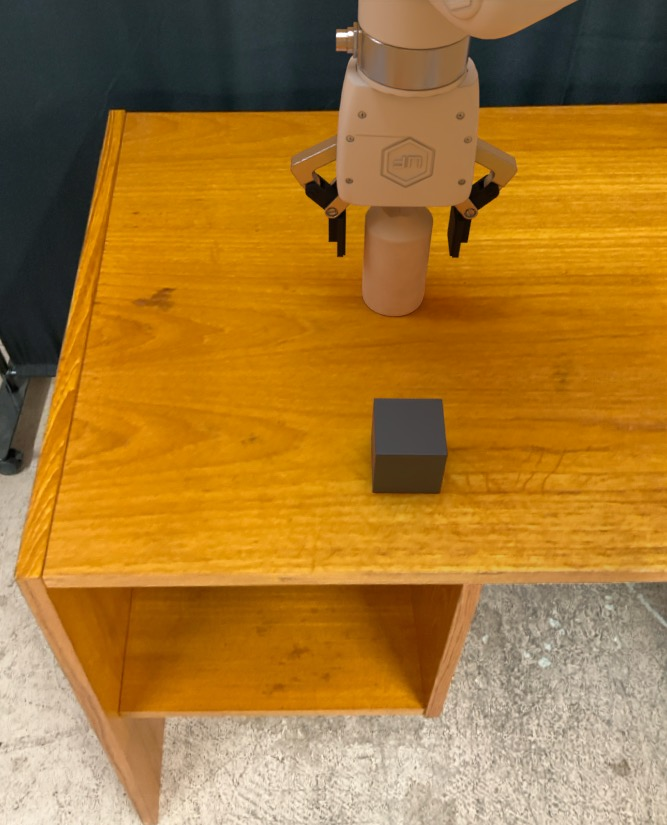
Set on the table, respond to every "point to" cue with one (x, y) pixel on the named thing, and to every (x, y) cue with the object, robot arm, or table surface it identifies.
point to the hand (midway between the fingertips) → (396, 246)
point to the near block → (408, 445)
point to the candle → (395, 258)
